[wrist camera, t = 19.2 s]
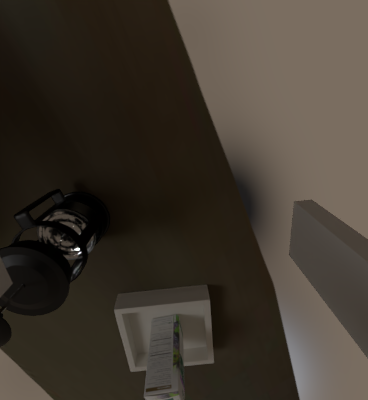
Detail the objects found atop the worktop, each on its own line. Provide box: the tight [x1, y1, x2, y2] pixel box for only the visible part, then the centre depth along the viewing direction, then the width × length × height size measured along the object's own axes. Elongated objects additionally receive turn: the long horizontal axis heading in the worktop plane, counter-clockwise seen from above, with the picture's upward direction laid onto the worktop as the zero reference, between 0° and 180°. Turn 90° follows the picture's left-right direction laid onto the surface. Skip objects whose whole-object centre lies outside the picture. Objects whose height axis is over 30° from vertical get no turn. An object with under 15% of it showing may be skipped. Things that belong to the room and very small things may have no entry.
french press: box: [0, 189, 110, 347], centre depth 30 cm, size 12×9×23 cm
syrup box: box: [144, 314, 185, 400], centre depth 44 cm, size 6×6×14 cm
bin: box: [114, 285, 214, 372], centre depth 50 cm, size 18×18×4 cm
